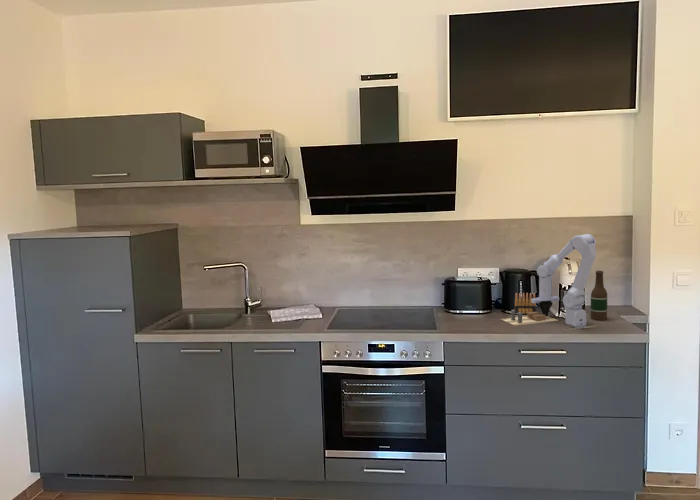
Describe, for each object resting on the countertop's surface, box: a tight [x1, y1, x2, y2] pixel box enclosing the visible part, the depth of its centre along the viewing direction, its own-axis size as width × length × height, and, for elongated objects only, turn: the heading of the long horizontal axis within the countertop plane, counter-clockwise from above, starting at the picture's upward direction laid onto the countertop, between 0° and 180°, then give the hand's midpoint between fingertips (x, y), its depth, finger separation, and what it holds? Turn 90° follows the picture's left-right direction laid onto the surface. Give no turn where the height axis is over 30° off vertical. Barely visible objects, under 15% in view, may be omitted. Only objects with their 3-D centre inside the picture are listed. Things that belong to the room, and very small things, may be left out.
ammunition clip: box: [514, 292, 537, 314], centre depth 303 cm, size 11×2×12 cm, turn 78°
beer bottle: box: [590, 270, 608, 322], centre depth 289 cm, size 8×8×24 cm
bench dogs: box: [510, 308, 523, 323], centre depth 287 cm, size 8×2×6 cm, turn 16°
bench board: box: [500, 315, 559, 326], centre depth 289 cm, size 14×24×1 cm, turn 106°
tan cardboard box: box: [526, 311, 546, 321], centre depth 290 cm, size 8×5×2 cm, turn 16°
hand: (545, 316), depth 291 cm, fingers closed
